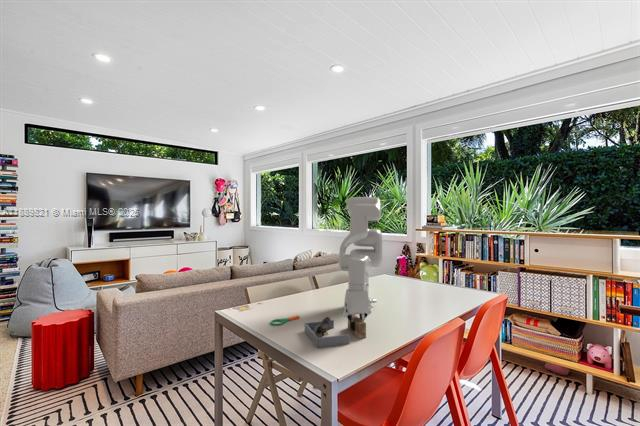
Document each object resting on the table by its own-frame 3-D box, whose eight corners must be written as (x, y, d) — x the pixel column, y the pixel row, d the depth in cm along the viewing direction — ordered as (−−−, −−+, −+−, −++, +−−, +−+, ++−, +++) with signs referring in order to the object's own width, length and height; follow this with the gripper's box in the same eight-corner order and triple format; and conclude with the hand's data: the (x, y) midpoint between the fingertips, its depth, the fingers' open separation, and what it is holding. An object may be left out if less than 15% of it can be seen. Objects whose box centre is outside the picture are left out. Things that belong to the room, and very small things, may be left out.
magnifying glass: (274, 327, 139) (274, 323, 139) (267, 323, 144) (267, 320, 144) (302, 320, 148) (302, 317, 148) (295, 317, 153) (295, 313, 153)
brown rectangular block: (353, 327, 139) (354, 313, 139) (365, 337, 128) (365, 323, 128) (347, 328, 138) (347, 314, 138) (359, 338, 127) (359, 324, 127)
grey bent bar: (333, 327, 139) (333, 319, 139) (349, 343, 122) (349, 334, 122) (304, 331, 134) (304, 323, 134) (317, 348, 118) (317, 338, 118)
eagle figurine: (335, 335, 127) (334, 323, 136) (326, 322, 126) (325, 310, 135) (319, 344, 128) (319, 332, 137) (310, 331, 127) (310, 319, 135)
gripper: (370, 283, 139) (369, 324, 139) (336, 285, 134) (335, 328, 134) (378, 287, 131) (378, 330, 132) (342, 290, 126) (342, 335, 127)
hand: (356, 329), depth 133 cm, fingers closed on brown rectangular block, 3 cm apart
